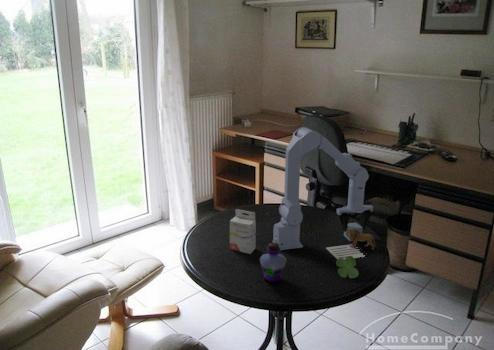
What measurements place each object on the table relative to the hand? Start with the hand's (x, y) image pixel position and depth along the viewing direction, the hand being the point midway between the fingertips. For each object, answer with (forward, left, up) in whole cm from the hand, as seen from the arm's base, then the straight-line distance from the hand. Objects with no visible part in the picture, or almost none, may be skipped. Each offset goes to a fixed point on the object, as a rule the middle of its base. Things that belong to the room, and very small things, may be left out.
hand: (353, 229), depth 159 cm
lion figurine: (-1, -8, -4) cm, 9 cm away
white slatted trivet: (-8, -10, -4) cm, 13 cm away
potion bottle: (-40, -20, -4) cm, 45 cm away
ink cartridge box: (-44, +2, -4) cm, 44 cm away
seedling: (-14, -20, -4) cm, 25 cm away
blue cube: (0, 0, -4) cm, 4 cm away
